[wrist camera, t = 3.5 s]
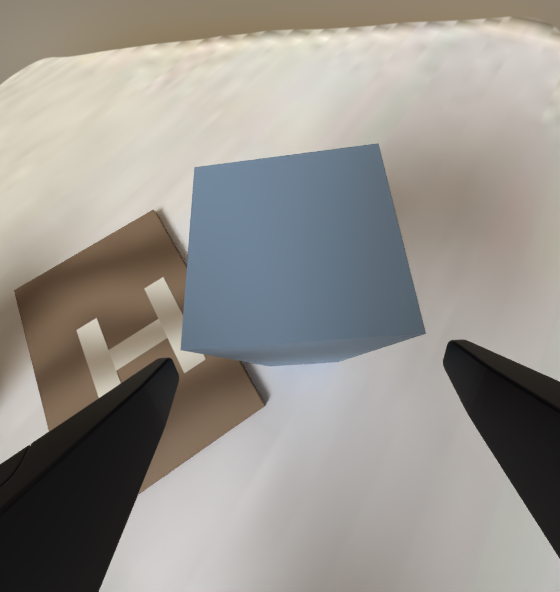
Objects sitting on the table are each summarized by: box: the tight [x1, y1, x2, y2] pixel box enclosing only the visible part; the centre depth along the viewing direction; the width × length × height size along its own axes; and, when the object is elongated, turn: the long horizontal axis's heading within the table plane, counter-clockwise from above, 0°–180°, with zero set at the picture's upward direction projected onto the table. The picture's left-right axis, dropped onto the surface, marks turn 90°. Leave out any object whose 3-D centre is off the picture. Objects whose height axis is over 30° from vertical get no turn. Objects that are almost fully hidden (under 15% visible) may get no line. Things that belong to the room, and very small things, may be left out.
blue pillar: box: [180, 144, 426, 366], centre depth 12 cm, size 5×5×13 cm
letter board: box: [14, 210, 265, 494], centre depth 19 cm, size 20×14×1 cm
